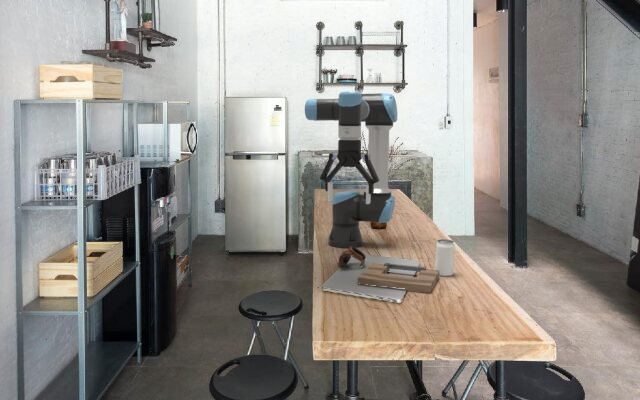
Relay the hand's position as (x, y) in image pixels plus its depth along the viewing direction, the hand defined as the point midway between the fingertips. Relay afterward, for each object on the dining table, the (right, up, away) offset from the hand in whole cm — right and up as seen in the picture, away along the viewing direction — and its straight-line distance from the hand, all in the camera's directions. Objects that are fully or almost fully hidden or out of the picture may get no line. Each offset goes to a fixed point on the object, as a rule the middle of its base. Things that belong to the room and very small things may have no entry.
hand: (348, 202), depth 179 cm
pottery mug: (+1, -24, +19) cm, 31 cm away
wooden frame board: (+17, -27, +2) cm, 32 cm away
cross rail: (+20, -26, +9) cm, 34 cm away
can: (+35, -26, +10) cm, 44 cm away
